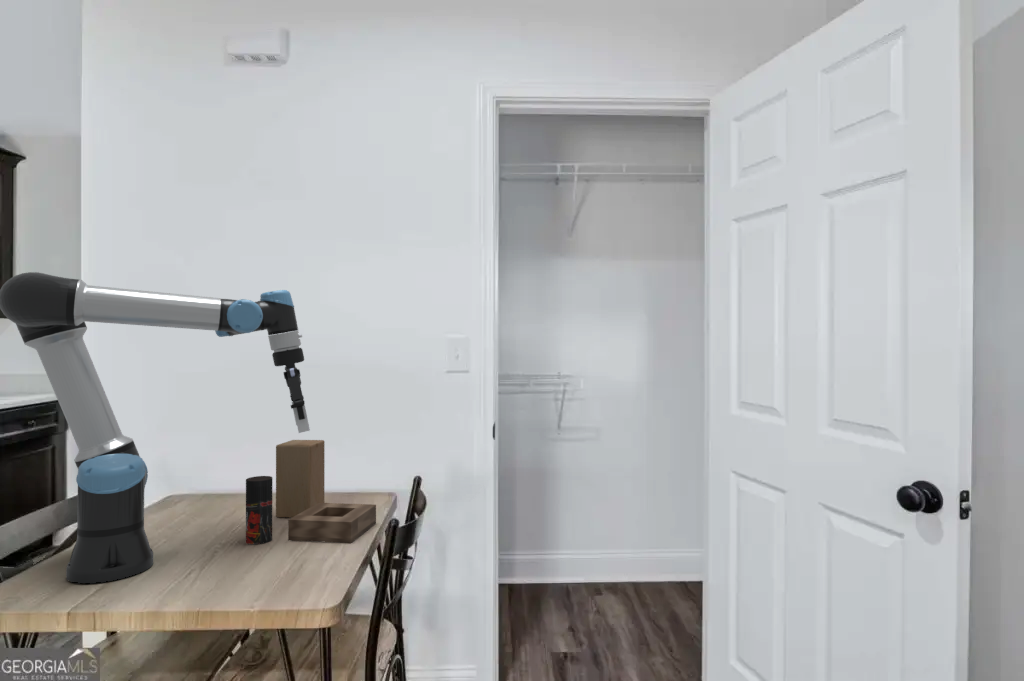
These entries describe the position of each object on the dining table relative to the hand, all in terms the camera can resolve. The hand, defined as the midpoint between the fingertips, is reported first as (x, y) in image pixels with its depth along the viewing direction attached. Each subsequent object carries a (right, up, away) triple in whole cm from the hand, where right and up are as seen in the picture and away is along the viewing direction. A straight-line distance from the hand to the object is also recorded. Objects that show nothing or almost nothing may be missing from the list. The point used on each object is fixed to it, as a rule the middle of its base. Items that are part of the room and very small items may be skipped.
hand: (302, 427), depth 156 cm
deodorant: (-6, -25, -14) cm, 30 cm away
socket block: (+10, -25, -7) cm, 28 cm away
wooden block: (-4, -26, +10) cm, 28 cm away
